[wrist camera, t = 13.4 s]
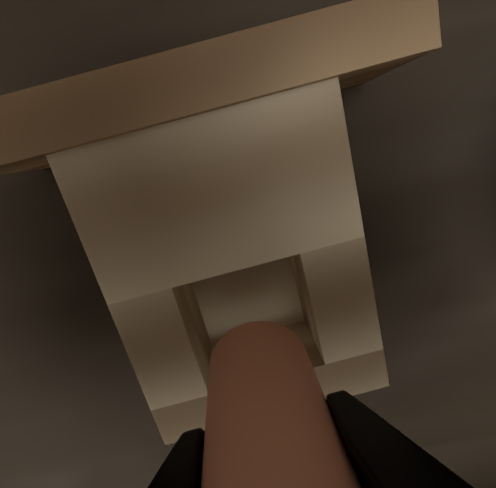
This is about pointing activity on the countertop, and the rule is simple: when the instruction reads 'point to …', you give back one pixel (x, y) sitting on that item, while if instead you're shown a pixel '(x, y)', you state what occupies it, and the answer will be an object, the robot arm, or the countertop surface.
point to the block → (229, 243)
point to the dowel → (269, 416)
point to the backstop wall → (214, 76)
